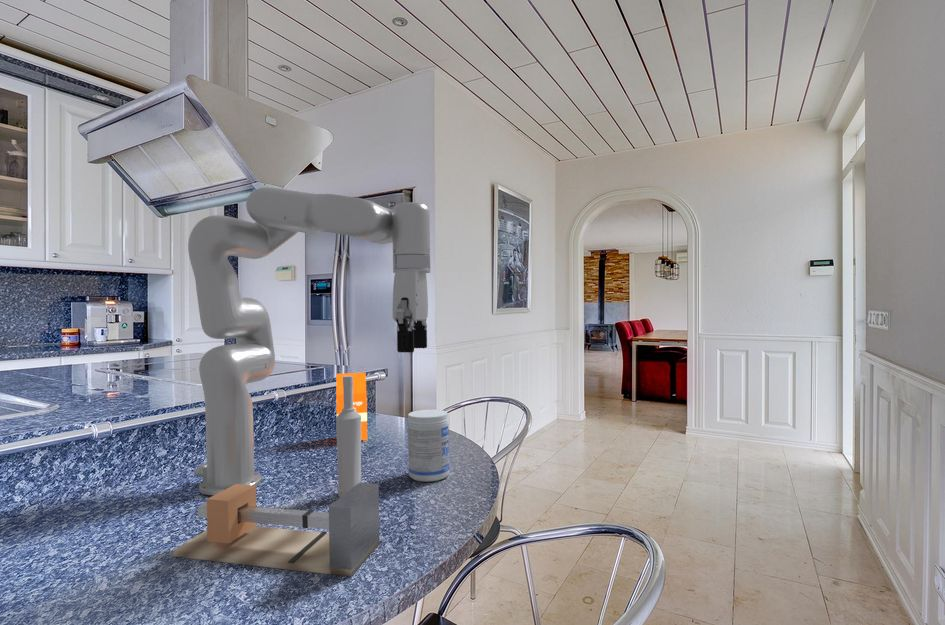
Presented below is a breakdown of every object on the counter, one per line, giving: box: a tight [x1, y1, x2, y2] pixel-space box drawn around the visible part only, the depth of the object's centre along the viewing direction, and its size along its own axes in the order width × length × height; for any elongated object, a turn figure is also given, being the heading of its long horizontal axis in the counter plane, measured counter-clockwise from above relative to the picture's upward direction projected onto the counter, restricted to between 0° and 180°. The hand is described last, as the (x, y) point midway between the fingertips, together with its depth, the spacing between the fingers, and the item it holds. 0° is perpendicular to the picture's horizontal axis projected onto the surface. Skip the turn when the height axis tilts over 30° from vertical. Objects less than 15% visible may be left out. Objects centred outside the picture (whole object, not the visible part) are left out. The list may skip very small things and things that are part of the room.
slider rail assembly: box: [197, 482, 381, 578], centre depth 79 cm, size 30×10×10 cm, turn 77°
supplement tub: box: [407, 409, 450, 483], centre depth 113 cm, size 10×10×15 cm
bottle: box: [335, 376, 362, 498], centre depth 102 cm, size 5×5×25 cm
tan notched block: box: [206, 484, 258, 544], centre depth 80 cm, size 4×7×7 cm, turn 167°
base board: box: [172, 525, 381, 578], centre depth 79 cm, size 31×10×1 cm, turn 77°
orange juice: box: [335, 372, 368, 441], centre depth 146 cm, size 8×9×20 cm
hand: (412, 350), depth 98 cm, fingers open, 9 cm apart
